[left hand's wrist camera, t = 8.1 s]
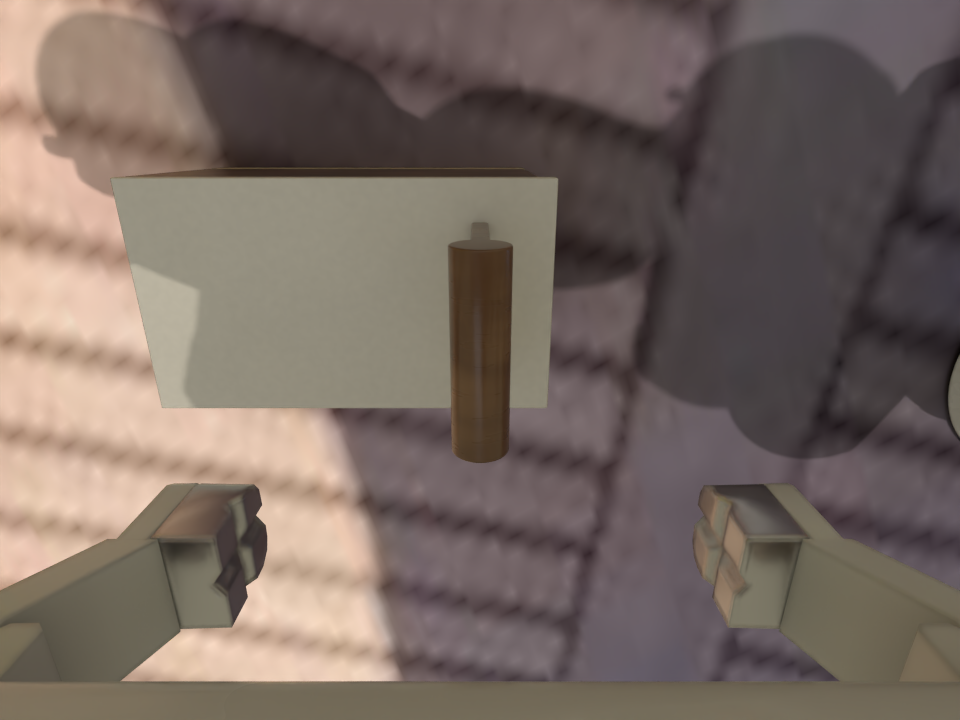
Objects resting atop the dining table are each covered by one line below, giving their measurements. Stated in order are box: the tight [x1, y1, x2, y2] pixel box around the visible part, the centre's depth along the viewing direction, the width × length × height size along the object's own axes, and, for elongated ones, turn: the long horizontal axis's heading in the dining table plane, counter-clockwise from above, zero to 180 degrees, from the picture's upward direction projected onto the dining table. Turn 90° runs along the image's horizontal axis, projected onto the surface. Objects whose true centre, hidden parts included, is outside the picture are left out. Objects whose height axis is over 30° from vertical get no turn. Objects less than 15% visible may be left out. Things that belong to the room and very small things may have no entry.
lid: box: [110, 177, 558, 463], centre depth 21 cm, size 18×10×8 cm, turn 90°
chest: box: [126, 168, 538, 177], centre depth 30 cm, size 17×10×10 cm, turn 90°
